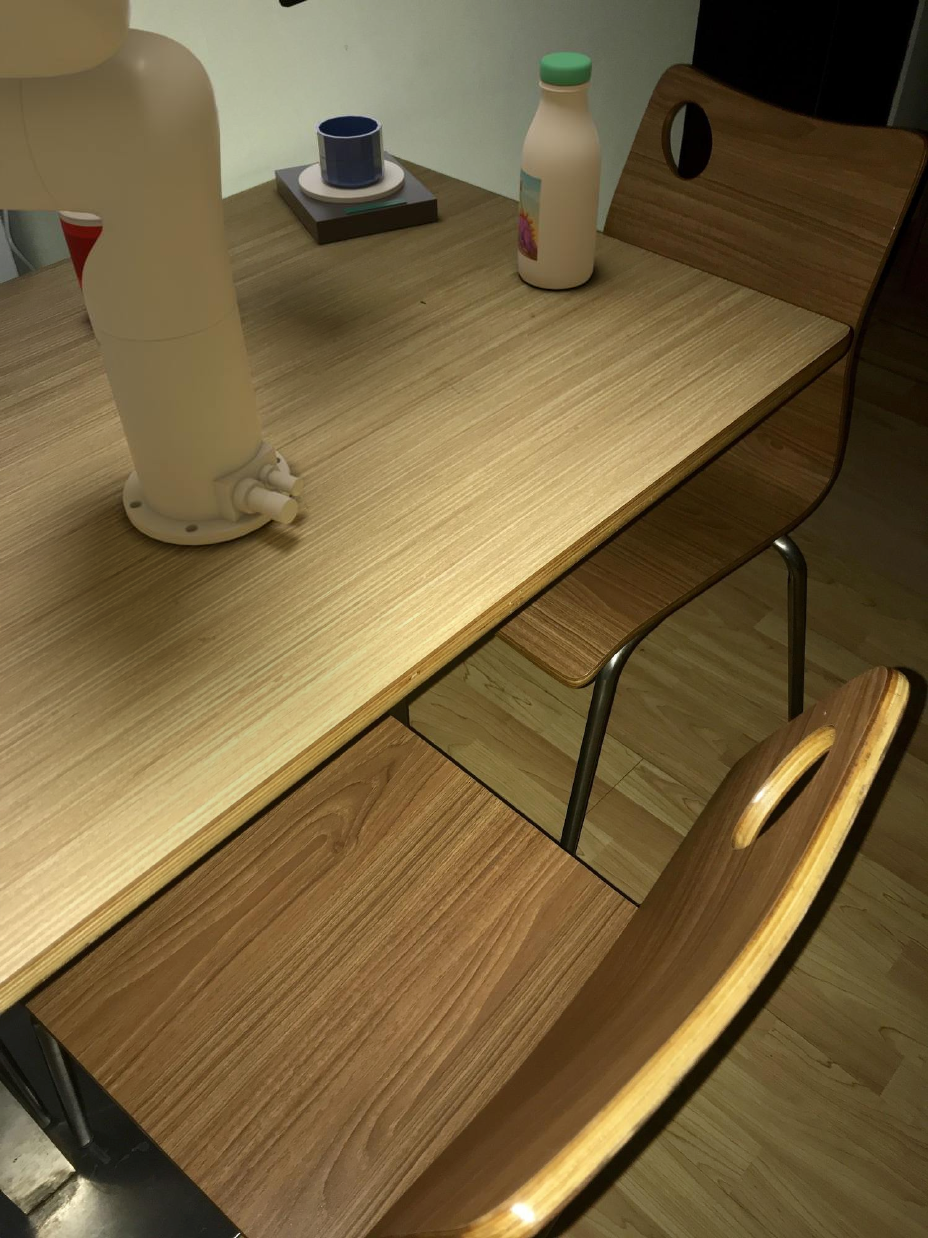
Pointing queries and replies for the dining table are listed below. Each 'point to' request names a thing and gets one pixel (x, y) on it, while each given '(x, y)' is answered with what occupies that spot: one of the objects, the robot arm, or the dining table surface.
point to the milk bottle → (560, 179)
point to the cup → (350, 150)
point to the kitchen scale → (356, 202)
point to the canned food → (80, 237)
